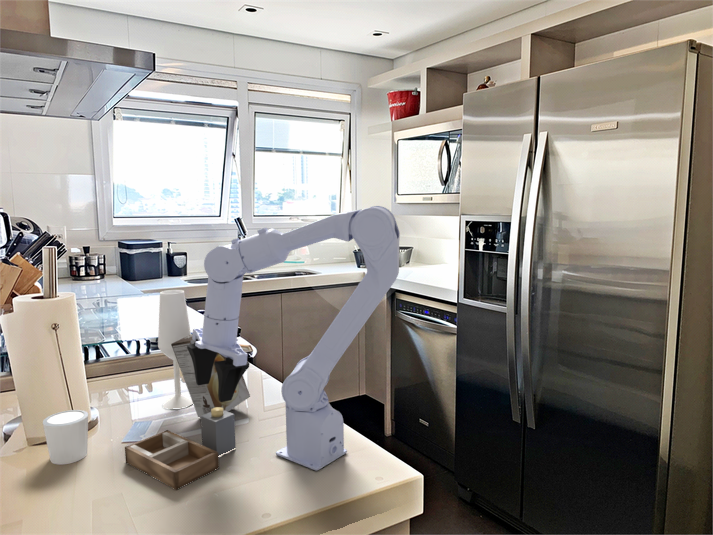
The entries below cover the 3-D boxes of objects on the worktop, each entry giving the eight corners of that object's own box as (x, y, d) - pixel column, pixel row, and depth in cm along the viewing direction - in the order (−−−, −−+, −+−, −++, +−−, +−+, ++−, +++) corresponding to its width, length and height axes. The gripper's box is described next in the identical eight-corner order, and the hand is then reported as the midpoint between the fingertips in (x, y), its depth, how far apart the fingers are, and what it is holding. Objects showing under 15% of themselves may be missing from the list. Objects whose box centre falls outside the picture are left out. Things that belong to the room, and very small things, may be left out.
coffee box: (230, 398, 115) (205, 326, 114) (251, 397, 112) (225, 323, 110) (197, 419, 108) (169, 343, 106) (218, 418, 104) (190, 339, 103)
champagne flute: (176, 412, 111) (169, 296, 108) (154, 405, 115) (147, 293, 112) (201, 401, 117) (196, 290, 114) (180, 395, 121) (174, 288, 117)
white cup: (41, 468, 89) (37, 428, 88) (52, 450, 96) (48, 411, 95) (87, 463, 91) (83, 422, 90) (95, 444, 98) (92, 407, 97)
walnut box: (219, 468, 89) (218, 452, 88) (176, 490, 82) (175, 472, 82) (168, 444, 97) (167, 429, 97) (125, 462, 91) (124, 446, 91)
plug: (235, 449, 95) (234, 408, 94) (217, 458, 92) (215, 416, 91) (220, 443, 98) (219, 403, 97) (202, 452, 95) (200, 410, 93)
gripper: (179, 305, 94) (172, 380, 97) (223, 330, 84) (214, 413, 87) (215, 303, 99) (208, 374, 102) (261, 326, 89) (252, 404, 92)
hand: (213, 391), depth 94 cm, fingers open, 7 cm apart
